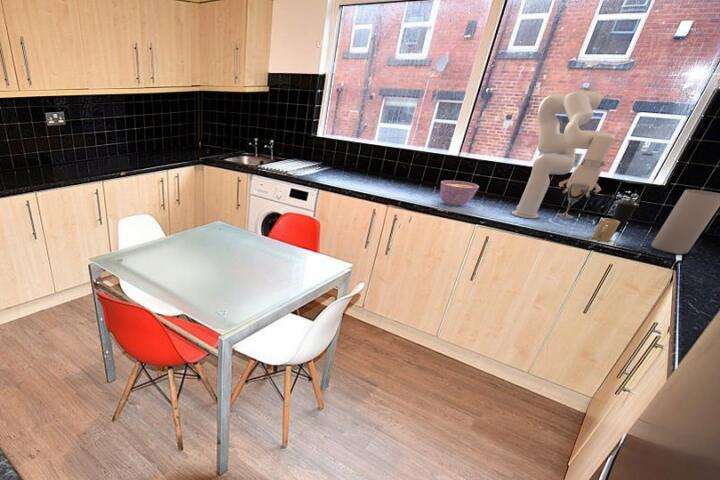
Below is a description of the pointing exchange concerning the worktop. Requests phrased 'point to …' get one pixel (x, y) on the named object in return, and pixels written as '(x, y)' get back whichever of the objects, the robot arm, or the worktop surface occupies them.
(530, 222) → the worktop surface
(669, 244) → the taupe cylinder
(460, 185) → the bowl of food
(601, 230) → the wooden mug
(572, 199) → the wine glass
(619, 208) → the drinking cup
